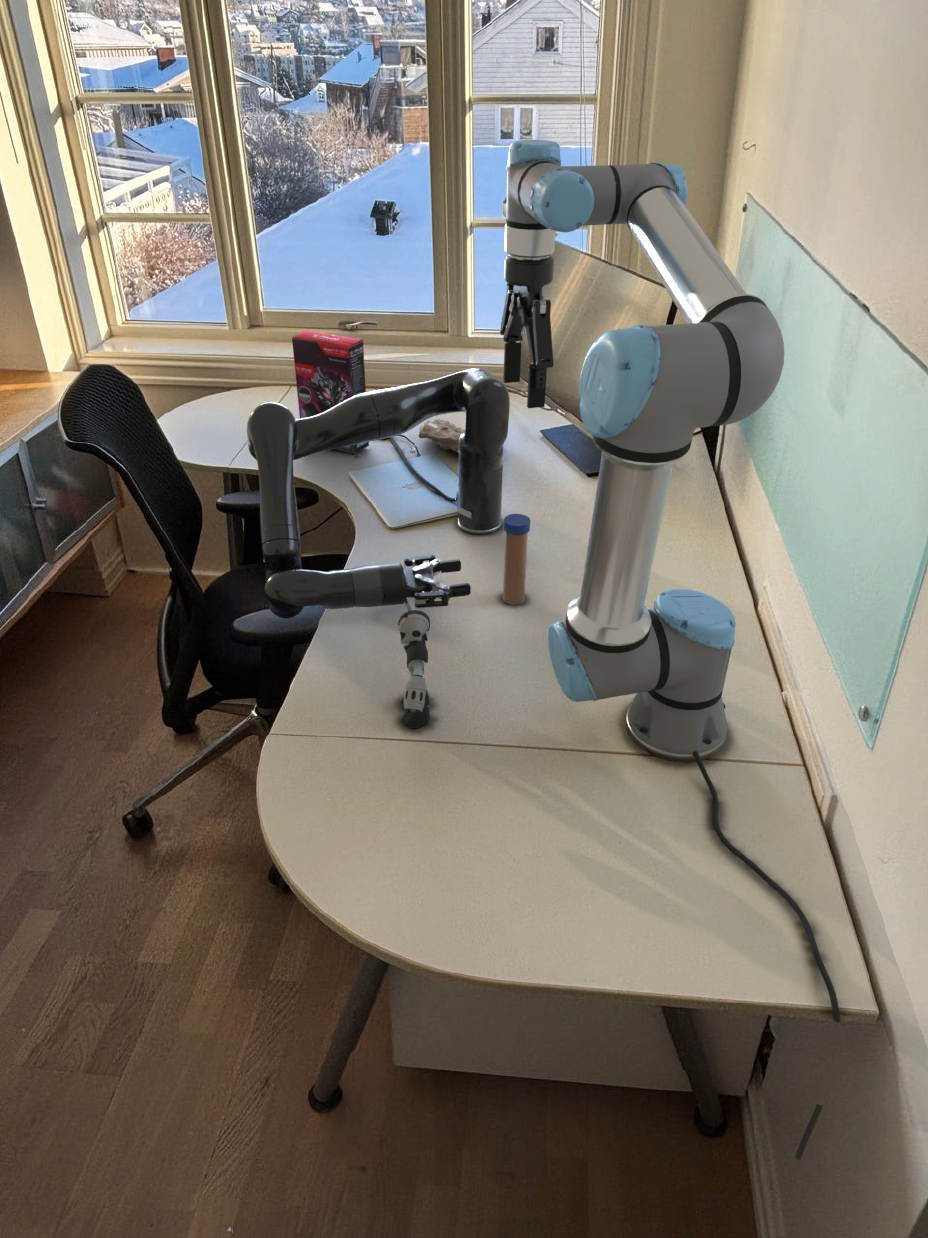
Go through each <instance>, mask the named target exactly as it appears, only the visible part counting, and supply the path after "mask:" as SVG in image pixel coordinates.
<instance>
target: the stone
mask: <svg viewBox="0 0 928 1238" xmlns="http://www.w3.org/2000/svg"><path fill="white" fill-rule="evenodd" d="M418 429H419V432H418V437H419V439H430V440H431V441H432V443H433V444H436V445H438V446H439V447H440V449H443V450H446V451H448V450H451V451H453V452H456V453H458V454H459V438H460V436H461V435H462V434H463V433H464V432H465V429H463V428H462V427H459V426H456V425H455V424H454V423H451V422H450V421H449V420H443V419H437V418H436V419H433V420H425V421H424V423H423V424H421V425H420V426H419V428H418Z"/></svg>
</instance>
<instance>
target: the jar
mask: <svg viewBox="0 0 928 1238" xmlns="http://www.w3.org/2000/svg"><path fill="white" fill-rule="evenodd" d="M504 533H505V535H504V559H503V584H502V585H503V588H502V600H503V602H504V603H506V604H508V605H511V606H517V605H521V604H522V603H524V602H525V596H526V576H527V557H528V538H529V535H528V534H529V532H528V533H526V534H523V535H512V534H509V533H507V532H505V531H504Z"/></svg>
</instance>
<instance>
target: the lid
mask: <svg viewBox="0 0 928 1238" xmlns="http://www.w3.org/2000/svg"><path fill="white" fill-rule="evenodd" d="M503 530H504V533H505V532H507V533H509V534H512V535H523V534H526V533H528V534H529V532H530V530H531V518H530V517H529V516H528V515H525V514H522V513H510V514H508V515H505V517H504V518H503Z"/></svg>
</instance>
